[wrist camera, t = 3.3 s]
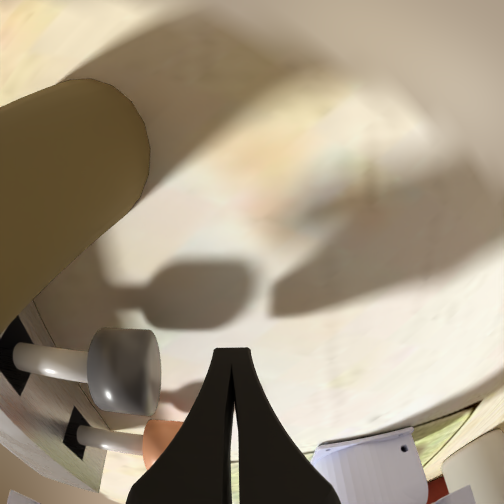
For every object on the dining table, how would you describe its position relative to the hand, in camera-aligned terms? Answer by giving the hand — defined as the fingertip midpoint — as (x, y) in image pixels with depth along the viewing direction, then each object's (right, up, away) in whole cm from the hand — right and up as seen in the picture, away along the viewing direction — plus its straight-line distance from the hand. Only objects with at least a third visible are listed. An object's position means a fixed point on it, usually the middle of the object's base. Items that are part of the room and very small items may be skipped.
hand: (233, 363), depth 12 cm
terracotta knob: (-7, -6, +5) cm, 11 cm away
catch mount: (-13, -3, +4) cm, 14 cm away
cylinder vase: (+38, -29, +22) cm, 53 cm away
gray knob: (-7, 0, +1) cm, 7 cm away
